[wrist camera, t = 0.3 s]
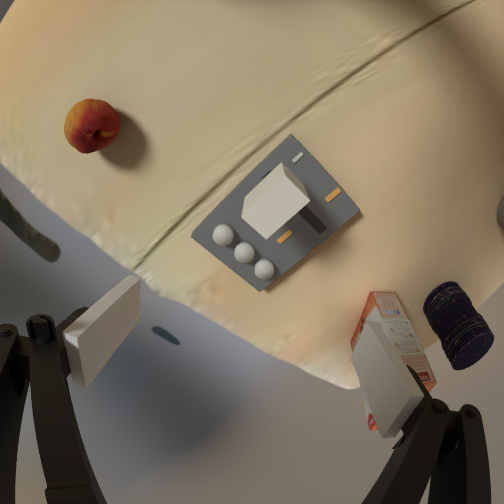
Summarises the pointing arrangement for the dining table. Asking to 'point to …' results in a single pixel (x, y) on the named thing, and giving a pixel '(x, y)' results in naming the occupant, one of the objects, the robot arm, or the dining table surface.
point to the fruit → (91, 125)
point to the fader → (274, 201)
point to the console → (289, 234)
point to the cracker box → (394, 338)
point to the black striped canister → (457, 325)
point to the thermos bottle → (501, 213)
